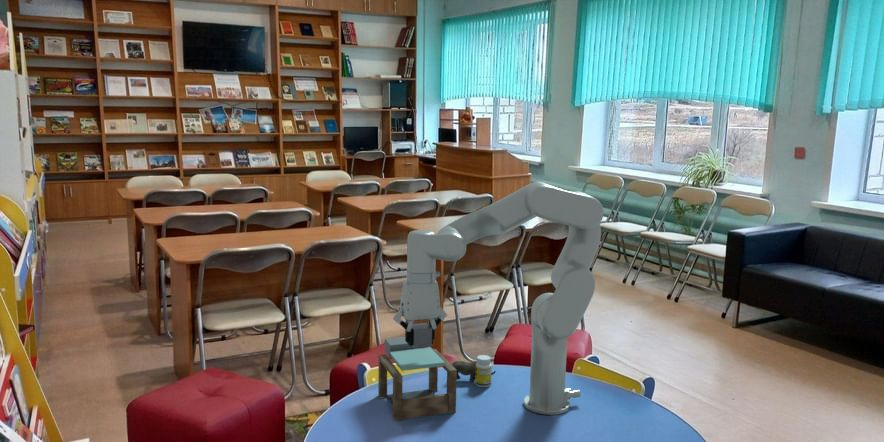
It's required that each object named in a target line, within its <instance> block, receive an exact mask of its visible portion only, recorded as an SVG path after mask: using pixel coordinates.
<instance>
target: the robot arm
mask: <svg viewBox="0 0 884 442" xmlns="http://www.w3.org/2000/svg"><path fill="white" fill-rule="evenodd" d="M604 211H605V210H604V207H603V204H602V203H601V201H599V199H597V198H595V196H594V197H593V196H592V195H589V194H587V193H585V192H583V191H575V190H574V191H568V190H565V189H562V188H558V187H555V186H554V185H550V184H548V183H546V182H542V181H534V182H530V183H529V184H527V185H526V184H525V186H523V187H521V188H519V189H517V190H515V191H514V192H512V193H510V194H508V195H506V196H505V197H503V198H501V199H499V200H497V201H494V202H493V203H491V204H489V205H486V206H484V207H481V208H480V209H477V210H475V211H472V212H470V213H467V214H466V215H463V216H461V217H460V218H458V219H455V220H454V221H452V222H451V223H448V224H446V225H445V226H442V228H440V229H439V230H438V231H437V233H435V232H434V231H432V230H428V229H427V230H425V229H415V230H410V231H409V233H408V235H407V240H406V241H407V250H406V251H407V253H406V254H407V255H406V256H407V257H406V280H405V281H403V283H402V287H401V295H400V303H399V304H400V305H399V309H398V311H396V313H395V314H394V316H393V318H392V319H393V321H395V322H396V324H399V325H400V326H401V327H402V328H404V332H405V333H404V334H405V336H404V337H405V341H406V342H407V343H408V344H409V346H412V345H413V332H412V331H411V328H412V325H413V324H414V322H415V321H424V320H427V322H428V323H427V324H428V325H429V326H430V327H431V328H432V345H434V340H435V337H436V336H435V333H436V332H435V330H436V329H437V327H438V326H439V324H441V323H442V321H443V320H445V318H447V317H448V314H447V312H446V311H445V310H444V309H443V308H442V306H441V299H440V289H439V284H438V281H437V278H439V277H440V278H441V272H440V271H437V270H436V269H437V268H436V265H437V263H436V260H440V261H445V262H456V261H458V260H460V259H461V258H463V257H464V256H465V254H466V252H467V245H469V244H470V243H472V242H474V241H476V240H478V239H481V238H485V237H487V236H499V235H503V234H507V233H509V232H510V231H513V230H515V229H516V228H518V227H519V226H522V225H523V224H525V223H527V222H529V221H532V220H533V219H535V218H539V219H543V220H545V221H549V222H553V223H556V224H561V225H565V226H568V235H567V238H566V240H565V243H564V246H563V247H562V249H561V252H560V254H559V256H558V257H557V260H556V262H555V264H554V266H553V268H552V269H551V270H552V271H550V273H551V274H550V280H551V283H552V285H553V287H554V288H555V291H554V292H545V293H542V294H540V295H539V296H537V297H536V298H535V300H534V301H533V303H532V306H531V311H530V321H531V324H530V325H531V349H530V350H531V351H530V352H531V354H530V375H529V376H530V377H529V394H527V395H526V396H525V397H524V398H523V405H524V407H525V408H526V409H527V410H529V411H530V412H532V413H536V414H539V415H548V416H550V415H551V416H555V415H562V414H563V413H564V414H565V413H566V412H568V411H569V410H570V409H571V408H570V405H571V404H570V401H569V400H571V399H572V398H573V399H574V398H580V397H581V391H580V389H575V390H574V389H573V390H572V388H570V387H568V388H566V375H567V374H566V371H567V367H566V366H567V354H568V338H569V337H571V336H572V335H573V334H574V333H575V332H576V330H577V328H578V327H579V325H580V323H581V322H582V319H583V317H584V315H585V313H586V311H587V309H588V307H589V305H590V302H591V300H592V298H593V295H594V292H595V289H596V288H595V287H596V279H595V277H594V275H593V272H592V271H591V270H590V269H591V266H592V264H593V262H594V259H595V257H596V254H597V252H598V250H599V246H600V243H601V238H602V229H601V222H602V220H603V218H604V214H605V213H604ZM402 317H403V318H404V319H401V318H402ZM404 320H405V321H404Z"/></svg>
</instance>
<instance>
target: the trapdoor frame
mask: <svg viewBox="0 0 884 442" xmlns="http://www.w3.org/2000/svg"><path fill="white" fill-rule="evenodd" d="M432 350H433V351H434V352H435V353H436V354H437V355H438V356H439V357H440V358H441V359H442V360H443V361H444V362H445V366H441V367H442V368H443V369H444V370H445V372H446V393H441V394H435V393H434V392H437V391H438V379H439V378H438V377H439V375H438V374H439V370H438V369H439V367H431V368H428V389H423V390H415V391H414V390H413V391H408V392H407V391H405V392H403V377H404V376H403V375H402V374H401V372H400V371H399V370H398V368H397V367H396V366H395V365H394V363H393V362H392V361H391V359H390V358H389V357H388V355H387V354H386V353H384V354H378V377H377V378H378V380H377V381H378V390H377V391H378V393H377V394H378V397H379V398H380V399H383V398H387V399H388V400H389V402H390V403H391V405H392V419H393V420H394V422H399V421H403V420H406V419H407V420H408V419H413V418H421V417H429V416H435V415H443V414H454V413H457V412H456V411H457V370H456V369H455V368H454V367H453V366H452V364H451V362H449V360H447V359H446V357H444V355H442V354H441V353H440V351H439V350H437V348H432ZM388 373H389V374H390V376H391V378H392V393H391V394H388Z"/></svg>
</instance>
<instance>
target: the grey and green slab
mask: <svg viewBox="0 0 884 442" xmlns="http://www.w3.org/2000/svg"><path fill="white" fill-rule="evenodd" d="M432 349H433V348H432V347H422V348H413V347H412V346H409V344H408V343H407V342H406V341H405V336H398V337H397V336H396V337H387V338H386V337H385V338H384V354H386V355H387V357H388V358H389V359H390V360H393V362H394V363H395V364H396V365H397V367H398V368H399V369H400V370H401V371H402V372H403V371H411V370H412V371H413V370H421V369H429V368H431V367H438V368H439V367H442V366H445V362H444V361H443V360H442V359H441V358H440V357H439V356H438V355H437V354H436V353H435V352H434V351H433V350H432Z"/></svg>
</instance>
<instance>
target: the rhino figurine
mask: <svg viewBox="0 0 884 442" xmlns="http://www.w3.org/2000/svg"><path fill="white" fill-rule="evenodd" d="M476 363H477V360H476V361H471V362H470V361H469V362H468V361H465V360H464V361H463V360H457V361H454V362H452V364H451V365H452V366H453V367H454V368H455V369H456V370H457V379H460V378H461V376H460V375H459V373H460V374H461V375H463V376H469V379H468V381H469V382H470V383H475V375H476ZM494 374H496V370H494V371H492V369H491V376H494Z"/></svg>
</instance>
